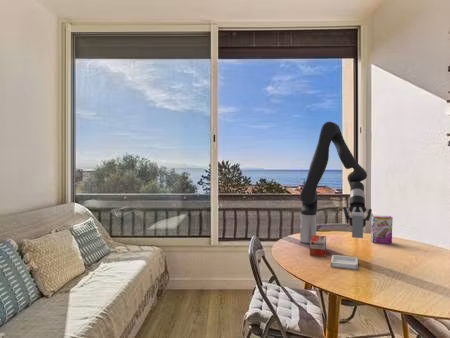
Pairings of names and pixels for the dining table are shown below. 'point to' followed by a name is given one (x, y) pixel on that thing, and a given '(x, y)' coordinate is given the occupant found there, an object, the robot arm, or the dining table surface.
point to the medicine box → (318, 245)
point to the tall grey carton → (357, 224)
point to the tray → (344, 262)
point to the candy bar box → (381, 229)
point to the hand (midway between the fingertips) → (357, 225)
